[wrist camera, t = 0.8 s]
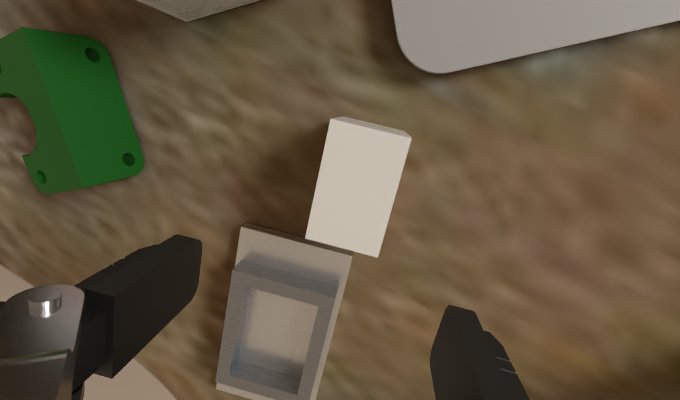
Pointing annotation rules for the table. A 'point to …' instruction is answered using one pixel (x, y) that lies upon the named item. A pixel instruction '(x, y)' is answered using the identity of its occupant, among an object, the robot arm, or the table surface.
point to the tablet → (513, 27)
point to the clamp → (70, 109)
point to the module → (357, 184)
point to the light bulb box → (194, 7)
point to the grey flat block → (280, 314)
